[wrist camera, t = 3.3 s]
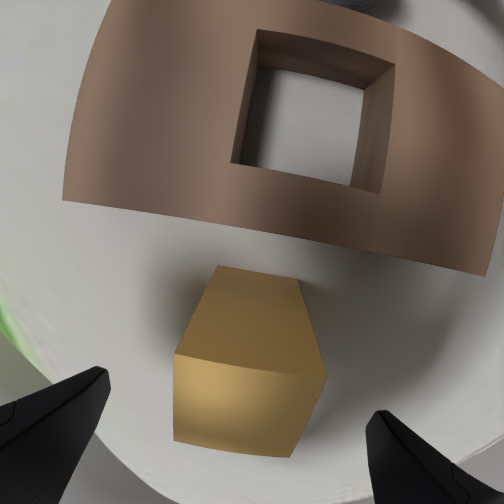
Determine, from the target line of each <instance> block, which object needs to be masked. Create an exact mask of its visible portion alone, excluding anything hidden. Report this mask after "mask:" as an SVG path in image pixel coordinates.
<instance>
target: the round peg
mask: <svg viewBox="0 0 504 504" xmlns="http://www.w3.org/2000/svg"><path fill="white" fill-rule="evenodd" d="M316 1H321V2H325V3H329V4H333V5H337V6H340V7H344V8H347V9H351V10H354V11H357V12H360V13H363V12H365V11H366V10H368V9H369V8H370V7H371V6H372V5H373V3H374V2H375V0H316Z"/></svg>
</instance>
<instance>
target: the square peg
mask: <svg viewBox="0 0 504 504" xmlns="http://www.w3.org/2000/svg"><path fill="white" fill-rule="evenodd" d="M326 379H327V375H326V371H325V368H324V364H323V361H322V358H321V354H320V351H319V348H318V344H317V341H316V338H315V334H314V331H313V328H312V325H311V321H310V318H309V315H308V312H307V309H306V306H305V302H304V299H303V296H302V293H301V290H300V287H299V284H298V281H297V279H293V278H287V277H282V276H276V275H270V274H264V273H258V272H252V271H247V270H241V269H235V268H230V267H224V266H219V265H218V266H217V268H216V270H215V272H214V274H213V276H212V278H211V280H210V282H209V284H208V286H207V288H206V290H205V292H204V294H203V296H202V298H201V300H200V302H199V304H198V306H197V308H196V310H195V312H194V314H193V316H192V318H191V320H190V322H189V324H188V326H187V328H186V330H185V332H184V334H183V336H182V338H181V340H180V342H179V344H178V346H177V349H176V351H175V353H174V372H173V435H174V441H177V442H182V443H186V444H190V445H195V446H200V447H205V448H210V449H216V450H222V451H228V452H235V453H242V454H251V455H260V456H272V457H288V458H289V457H290V456H291V454H292V452H293V450H294V448H295V446H296V444H297V442H298V440H299V438H300V436H301V434H302V432H303V430H304V428H305V426H306V424H307V422H308V420H309V417H310V415H311V413H312V411H313V409H314V407H315V404H316V402H317V400H318V398H319V395H320V393H321V391H322V388H323V386H324V384H325V381H326Z"/></svg>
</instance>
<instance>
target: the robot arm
mask: <svg viewBox="0 0 504 504" xmlns="http://www.w3.org/2000/svg"><path fill="white" fill-rule="evenodd" d="M110 391H111V385H110V379H109V373H108V370H107V369H105V368H102V367H99V366H94V367H92V368H90V369H88V370H86V371H83V372H81V373H79V374H77V375H74V376H72V377H70V378H67V379H65V380H63V381H61V382H58V383H56V384H54V385H51V386H49V387H47V388H44V389H42V390H39V391H37V392H35V393H32V394H30V395H28V396H25V397H23V398H20V399H18V400H16V401H13V402H10V403H8V404H5V405H2V406H0V504H59V501H60V499H61V497H62V495H63V493H64V490H65V489H66V486H67V484H68V482H69V480H70V478H71V476H72V474H73V472H74V470H75V468H76V466H77V464H78V462H79V460H80V458H81V456H82V454H83V452H84V450H85V448H86V446H87V444H88V442H89V441H90V439H91V437H92V435H93V433H94V431H95V429H96V427H97V425H98V422H99V420H100V417H101V414H102V412H103V409H104V407H105V404H106V401H107V399H108V396H109V394H110ZM366 443H367V456H368V466H369V472H370V478H371V483H372V489H373V495H374V501H375V504H504V493H502V492H499V491H497V490H495V489H493V488H491V487H489V486H488V485H486V484H484V483H482V482H481V481H479V480H477V479H476V478H474V477H473V476H471V475H469V474H468V473H466V472H465V471H464V470H462V469H461V468H459V467H458V466H457V465H455V464H454V463H453V462H452V463H451V461H450V460H449V459H448V458H446V457H445V456H444V455H442V454H441V453H440V452H439V451H437V450H436V449H435V448H433V447H432V446H431V445H430V444H428V443H427V442H426V441H425V440H423V439H422V438H421V437H420V436H418V435H417V434H416V433H415V432H413V431H412V430H411V429H410V428H408V427H407V426H406V425H405V424H404V423H402V422H401V421H400V420H399V419H397V418H396V417H395V416H394V415H393V414H391V413H390V412H389V411H387V410H378V411H376V412H375V413H374V414H373V416H372V418H371V419H370V421H369V422H368V424H367V426H366Z"/></svg>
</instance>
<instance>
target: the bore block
mask: <svg viewBox="0 0 504 504" xmlns="http://www.w3.org/2000/svg"><path fill="white" fill-rule="evenodd" d="M258 66H266V67H272V68H278V69H284V70H289V71H294V72H299V73H304V74H309V75H313V76H317V77H322V78H326V79H330V80H333V81H337V82H341V83H344V84H348V85H351V86H354V87H358V88H361V89H364V96H363V105H362V113H361V121H360V128H359V135H358V142H357V148H356V155H355V161H354V167H353V172H352V178H351V183H350V187H349V186H345V185H341V184H337V183H332V182H328V181H323V180H319V179H314V178H310V177H305V176H300V175H295V174H290V173H285V172H280V171H275V170H269V169H264V168H258V167H252V166H246V165H240V161H241V155H242V149H243V144H244V138H245V133H246V127H247V122H248V117H249V111H250V106H251V101H252V96H253V91H254V86H255V81H256V75H257V71H258ZM503 195H504V89H503V88H502V87H501V86H499V85H498V84H497V83H495V82H494V81H493V80H491V79H490V78H489V77H487V76H486V75H484V74H483V73H482V72H480V71H479V70H477V69H476V68H474V67H473V66H471V65H470V64H468V63H467V62H465V61H463V60H462V59H460V58H459V57H457V56H455V55H454V54H452V53H450V52H448V51H447V50H445V49H443V48H441V47H439V46H438V45H436V44H434V43H432V42H430V41H428V40H426V39H424V38H422V37H420V36H418V35H416V34H414V33H411V32H409V31H407V30H405V29H402V28H400V27H398V26H395V25H393V24H390V23H388V22H385V21H383V20H380V19H377V18H375V17H372V16H369V15H366V14H363V13H360V12H357V11H354V10H351V9H347V8H344V7H340V6H337V5H333V4H329V3H325V2H321V1H316V0H111V2H110V5H109V7H108V9H107V11H106V14H105V16H104V18H103V21H102V23H101V25H100V28H99V30H98V33H97V36H96V38H95V41H94V44H93V47H92V50H91V52H90V55H89V58H88V62H87V65H86V68H85V71H84V75H83V78H82V82H81V86H80V89H79V93H78V97H77V102H76V106H75V110H74V115H73V120H72V125H71V131H70V136H69V142H68V149H67V156H66V164H65V173H64V183H63V197H62V200H65V201H72V202H80V203H87V204H94V205H101V206H108V207H115V208H122V209H129V210H136V211H142V212H149V213H155V214H162V215H168V216H174V217H181V218H187V219H193V220H199V221H205V222H211V223H217V224H223V225H229V226H235V227H241V228H246V229H252V230H258V231H263V232H269V233H275V234H280V235H286V236H291V237H296V238H302V239H307V240H312V241H318V242H323V243H328V244H333V245H339V246H344V247H349V248H354V249H359V250H364V251H369V252H374V253H379V254H384V255H388V256H393V257H398V258H403V259H408V260H412V261H417V262H422V263H426V264H431V265H435V266H440V267H444V268H449V269H453V270H458V271H462V272H467V273H471V274H475V275H480V276H484V277H485V275H486V272H487V268H488V265H489V261H490V258H491V254H492V250H493V246H494V242H495V238H496V234H497V229H498V224H499V219H500V214H501V208H502V202H503Z"/></svg>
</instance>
